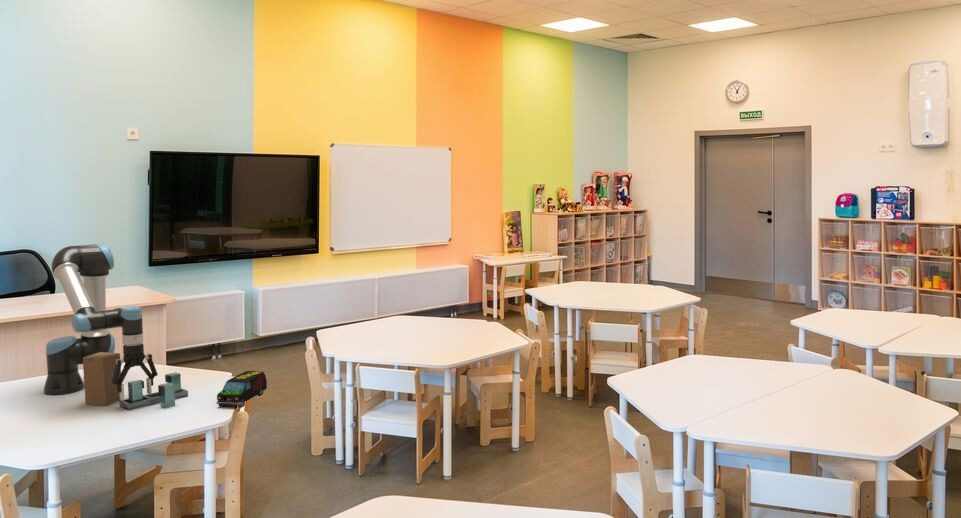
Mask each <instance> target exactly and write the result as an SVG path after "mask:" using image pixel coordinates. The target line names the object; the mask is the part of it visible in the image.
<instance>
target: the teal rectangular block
mask: <svg viewBox="0 0 961 518" xmlns="http://www.w3.org/2000/svg"><path fill="white" fill-rule="evenodd" d="M143 389H145V381H144V380H142V379H137V380H132V381H128V382H127V390H128V392H127V393H128V399H129V403H133V402H138V401H142V400H143V395H144V393H143Z"/></svg>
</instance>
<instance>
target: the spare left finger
mask: <svg viewBox="0 0 961 518" xmlns="http://www.w3.org/2000/svg"><path fill="white" fill-rule="evenodd" d="M157 392H159V393H160V394H161V403H160V406H161V407H163V408H165V409H167V408H170V407H176V399H175V391H174V384H172V383H167V382H165V383H162V384H161V383H160V384H159V385H157Z"/></svg>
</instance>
